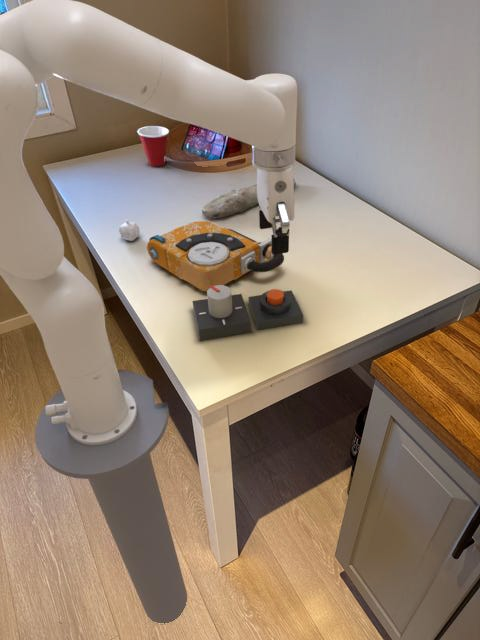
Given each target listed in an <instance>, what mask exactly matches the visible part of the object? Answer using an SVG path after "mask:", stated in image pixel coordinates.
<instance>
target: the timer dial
mask: <svg viewBox="0 0 480 640" xmlns="http://www.w3.org/2000/svg"><path fill="white" fill-rule="evenodd" d="M232 295H233V294H232V289H231V288H230V287H229V286H227V285H217V286H211V288H210V289H209V290H208V291H206V296H207V299H208V306H209V313H210V315H211V316H213V317H215V318H225V317H227V316H229V315H230V314H231V313H232Z"/></svg>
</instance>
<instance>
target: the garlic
mask: <svg viewBox="0 0 480 640" xmlns="http://www.w3.org/2000/svg"><path fill="white" fill-rule="evenodd" d="M140 231H141V230H140V228H139V226H138V224H137V223H136V222H134V221H129V220H128V219H125V220H124V223H122V224H121V225H120V227H119V228H118V233H119V234H120V236H121V238H122V239H123V240H125V241H130V242H132V241H135V240H136V239H137V238H138V237H139V235H140Z"/></svg>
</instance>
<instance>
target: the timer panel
mask: <svg viewBox="0 0 480 640" xmlns="http://www.w3.org/2000/svg"><path fill="white" fill-rule="evenodd" d="M231 295H232V313H231V314H230V315H229V316H227V317H225V318H215V317H213V316H211V315H210V313H209V306H208V298H204V299H203V298H202V299H197V300H192V308H193V309H192V311H193V315H194V319H195V320H194V321H195V325H196V329H197V334H198V340H199V341H206V340H214V339H219V338H226V337H231V336H237V335H244V334H249V333H252V321H251V318H250V315H249V312H248V309H247V307H246V304H245V301H244V297H243V295H242V293H235V294H231Z"/></svg>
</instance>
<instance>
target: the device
mask: <svg viewBox="0 0 480 640" xmlns="http://www.w3.org/2000/svg"><path fill="white" fill-rule="evenodd" d="M146 249H147V253H148V255H149V257H150V259H151V260H152V261H153V262H154V263H155V264H157V265H158V266H160V267H162V268H163V269H165V270H166V271H168V272H170V273H171V274H172V275H174V276H176V277H177V278H178V279H180V280H183V281H185V282H187V283H189V284H190V285H192V286H194V287H195V288H197V289H198V290H199V291H203V292H208V290H209V289H210V288H211V286H217V285H224V286H226V285H227V284H228V283H230V282H232V281H233V280H234V281H236V280H237V279H239V278H240V277H242V276H244V275H245V274H247V273H249V272H251V271H252V272H256V273H267V272H270V271H273V270H275V269H276V268H278V267H280V266H281V265H282V264H283V263H284V261H285V255H284V253H281V254H275V255H273V254H272V238H270V237H269V238H267V239H265V240H263V241H256V240H254V239H252V238H250V237H248V236H246V235H245V234H242V233H240V232H238V231H236V230H234V229H231V228H226V227H221V226H219V225H218V224H215V223H213V222H212V221H211V220H207V219H206V220H203V221H202V220H201V221H199V220H198V221H193V222H190V223H188V224H184V225H181V226H179V227H175V228H174V229H171V230H170V231H167V232H166V233H163V234H161V235H159V234H156V235H153V236H151V237H149V239H148V242H147V244H146ZM264 260H266V261H264ZM263 261H264V262H263Z"/></svg>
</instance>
